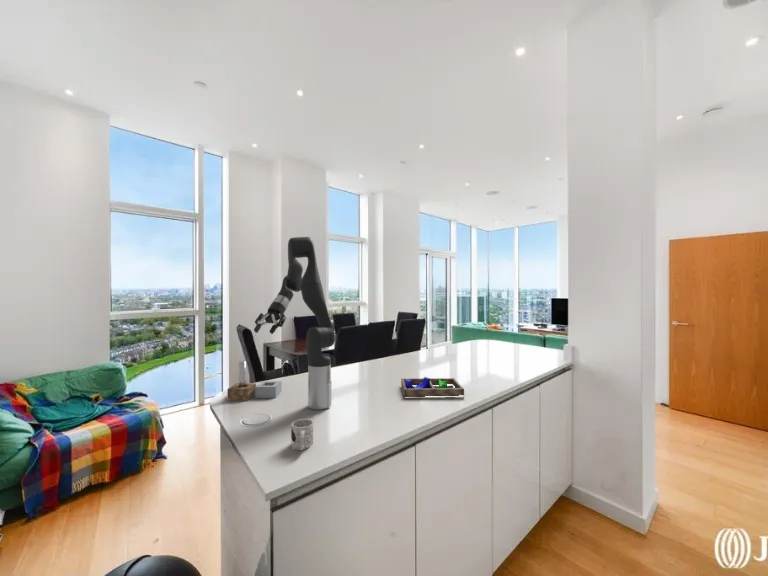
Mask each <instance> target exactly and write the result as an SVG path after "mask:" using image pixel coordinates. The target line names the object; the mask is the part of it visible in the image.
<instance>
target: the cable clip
mask: <svg viewBox="0 0 768 576" xmlns="http://www.w3.org/2000/svg"><path fill="white" fill-rule="evenodd" d="M423 378H424V379H423V382H422V383H419V385H417V386H416V387H413V386H412V381H410V380H405V385H406V389H430V378H431V377H427V376H424V377H423Z"/></svg>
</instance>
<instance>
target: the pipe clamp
mask: <svg viewBox="0 0 768 576" xmlns="http://www.w3.org/2000/svg"><path fill="white" fill-rule="evenodd" d="M441 388H448V387H447V381H441V380H439V387H438V389H441Z"/></svg>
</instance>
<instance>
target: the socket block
mask: <svg viewBox="0 0 768 576" xmlns="http://www.w3.org/2000/svg"><path fill="white" fill-rule="evenodd" d="M282 384H283V383H282V381H281V380H280V381H279V380H278V381H277V380H264V381H263V380H262V381H261V382H260V383H258V384H256V388H255V395H254V396H255V397H254V398H255V399H276V398H278V396H279V395H280V394H281V393H282V391H283V389H282Z"/></svg>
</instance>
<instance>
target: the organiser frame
mask: <svg viewBox="0 0 768 576" xmlns="http://www.w3.org/2000/svg"><path fill="white" fill-rule="evenodd" d="M429 378H430V389H406V385H405V380H410V381H412V385H419V383H422V382H423V379H424V377H422V378H417V377H416V378H413V377H412V378H400V379H401V381H400V382H401V383H400V385H401V386H402V387H401V390H403V391H402V393H404V395H403V398H404V397H425V396H459V395H464V396H465V389H464V387H463V386H462V385H461V384H460V383H459V382H458V380H456V378H454V377H451V378H450V377H449V378H443V377H442V378H441V377H440V378H439V377H437V378H435V377H434V378H431V377H429ZM439 380H441V381H447V384H453V385H454V386H455V388H453V387H447V388H441V389H439V388H436V387H434V386H433V385H439Z"/></svg>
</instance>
